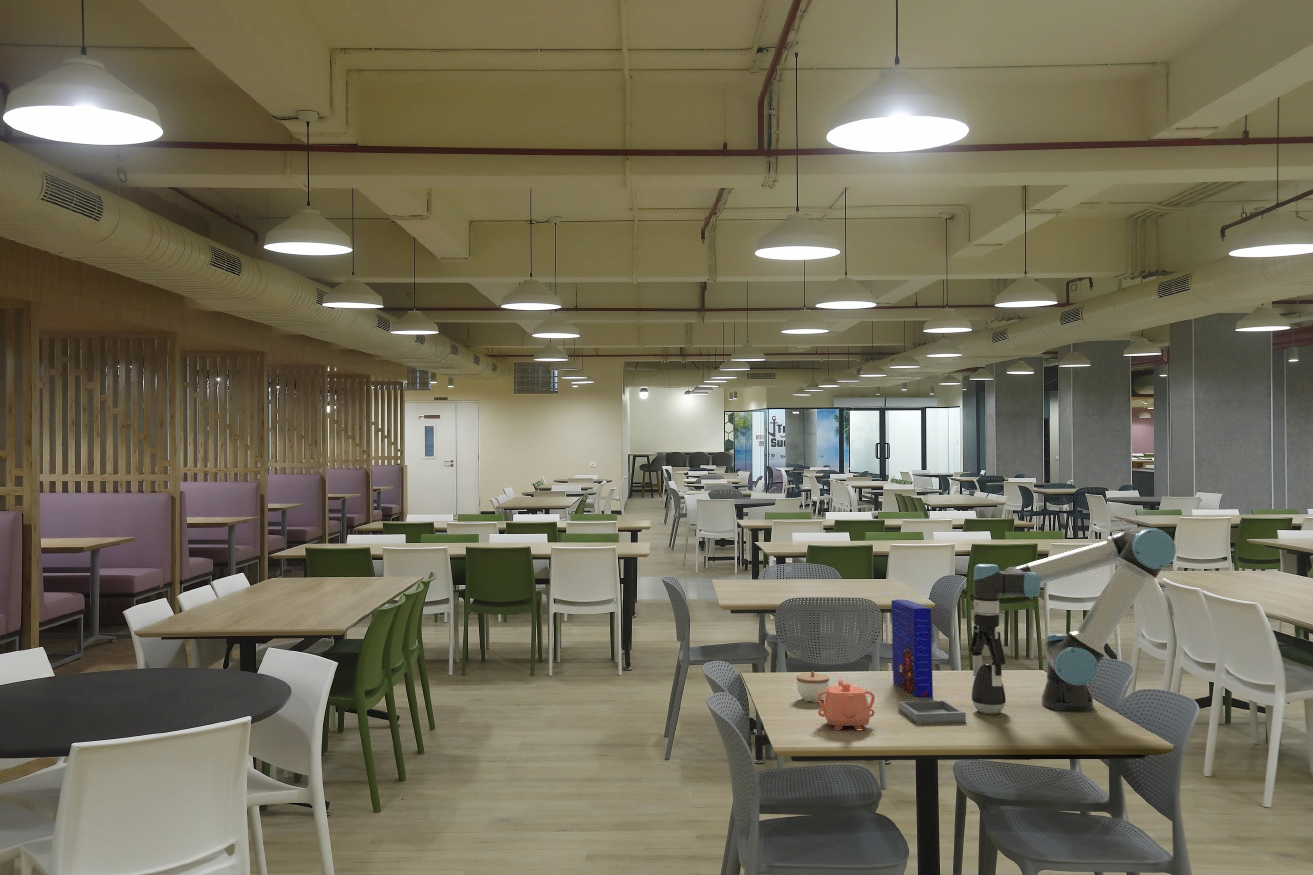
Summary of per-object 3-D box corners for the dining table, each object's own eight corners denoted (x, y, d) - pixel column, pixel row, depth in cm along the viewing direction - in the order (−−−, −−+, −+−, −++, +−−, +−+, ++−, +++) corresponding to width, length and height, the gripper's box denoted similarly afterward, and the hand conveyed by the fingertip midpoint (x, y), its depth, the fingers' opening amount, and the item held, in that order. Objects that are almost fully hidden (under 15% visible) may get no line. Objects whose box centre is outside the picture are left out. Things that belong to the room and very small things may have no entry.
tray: (945, 709, 288) (945, 699, 288) (965, 722, 273) (965, 712, 273) (898, 710, 287) (898, 701, 287) (916, 724, 271) (916, 713, 271)
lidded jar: (829, 704, 296) (829, 675, 296) (796, 703, 298) (796, 674, 298) (828, 696, 306) (828, 668, 307) (797, 695, 308) (796, 667, 308)
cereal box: (932, 696, 304) (930, 607, 306) (915, 697, 304) (913, 608, 305) (909, 682, 326) (907, 599, 327) (893, 682, 326) (891, 599, 327)
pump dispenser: (1014, 714, 281) (1012, 665, 282) (987, 717, 277) (986, 668, 278) (990, 706, 291) (989, 659, 291) (964, 710, 287) (963, 661, 288)
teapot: (852, 736, 259) (851, 692, 260) (808, 724, 272) (807, 682, 272) (884, 727, 269) (883, 684, 269) (840, 716, 281) (839, 675, 282)
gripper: (958, 607, 298) (959, 672, 297) (992, 619, 273) (993, 690, 272) (980, 607, 298) (981, 671, 297) (1016, 619, 273) (1017, 689, 273)
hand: (987, 680), depth 285 cm, fingers open, 13 cm apart
